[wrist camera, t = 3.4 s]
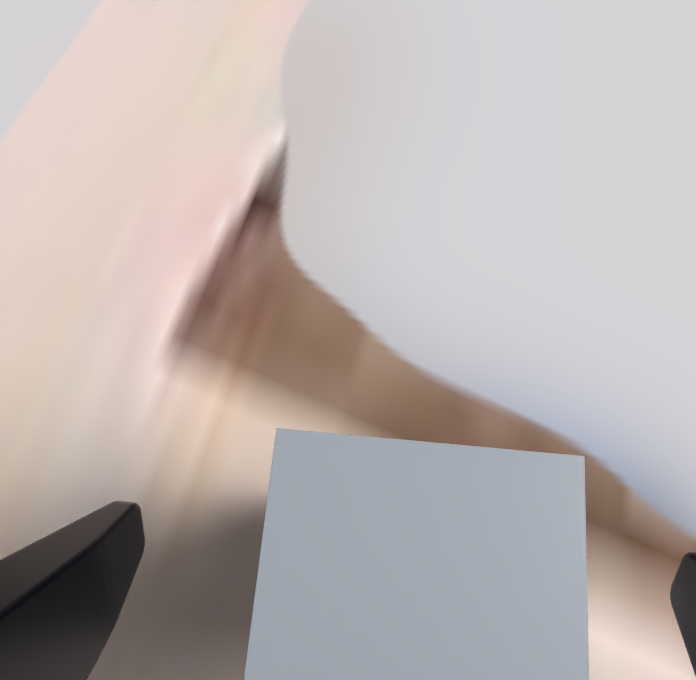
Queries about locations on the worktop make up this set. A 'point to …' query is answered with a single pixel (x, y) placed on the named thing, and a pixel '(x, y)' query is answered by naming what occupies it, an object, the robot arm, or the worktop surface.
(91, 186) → the worktop surface
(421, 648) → the tall grey box
